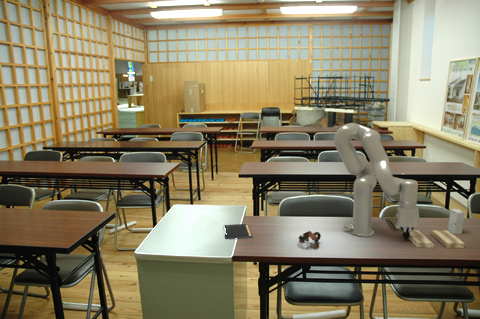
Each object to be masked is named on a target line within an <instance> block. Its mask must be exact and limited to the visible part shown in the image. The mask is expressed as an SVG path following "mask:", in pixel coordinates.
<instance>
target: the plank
mask: <svg viewBox="0 0 480 319" xmlns="http://www.w3.org/2000/svg"><path fill="white" fill-rule="evenodd" d="M409 240H410V241H411V242H412V243H413V245H414V246H415V247H416V248H426V249H427V248H429V249H431V248H434V249H435V244H434V243H433V242H432V241H431V240H429V238H428V237H427V236H425V235H424V234H423V233H422V232H421V231H419V229H418V230H416V229H413V230H412V231H411V232H410V237H409Z"/></svg>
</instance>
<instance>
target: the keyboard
mask: <svg viewBox="0 0 480 319" xmlns="http://www.w3.org/2000/svg"><path fill="white" fill-rule="evenodd" d="M383 219H384V221H385V222H386V224H387V226H388V228H390V230H391V232H393V233H403V231H402V230H401V229H399V228H396V227H395V226H396V216H386V217H381V220H383Z"/></svg>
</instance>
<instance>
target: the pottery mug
mask: <svg viewBox="0 0 480 319" xmlns="http://www.w3.org/2000/svg"><path fill="white" fill-rule="evenodd" d="M321 237H322V235H321V232H319V231H316V232H312V230H309V231H306V232H304V233H303V234H302V235H301V234H300V235H299V236H298V239H299V240H298V243H302V244H304V243H305V242H310V239H311V241H314V244H313V245H312V247H313V249H314V250H317V249H318V248H319V247H320V244H319V241H320V239H321Z"/></svg>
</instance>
